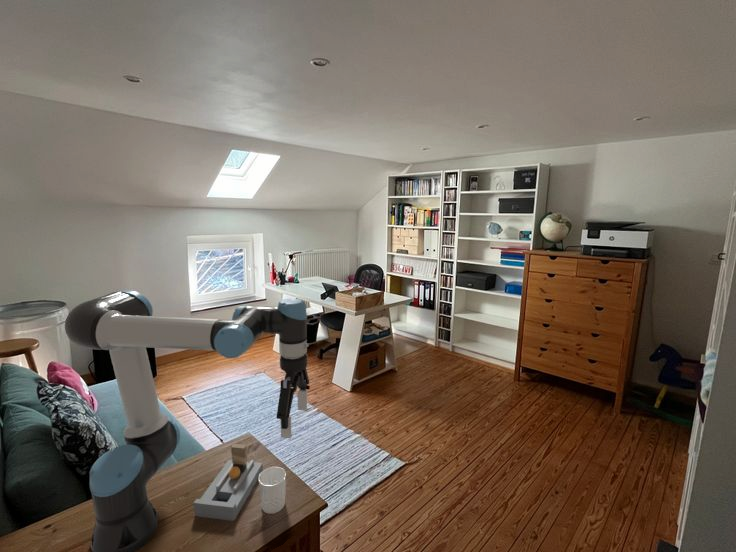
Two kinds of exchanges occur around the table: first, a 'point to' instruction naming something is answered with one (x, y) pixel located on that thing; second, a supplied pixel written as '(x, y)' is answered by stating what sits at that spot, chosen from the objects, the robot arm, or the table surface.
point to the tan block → (239, 456)
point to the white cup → (272, 489)
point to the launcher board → (228, 492)
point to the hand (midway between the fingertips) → (294, 422)
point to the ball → (234, 472)
